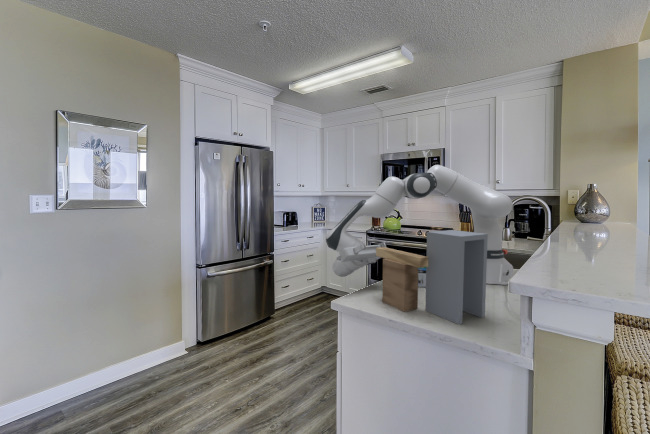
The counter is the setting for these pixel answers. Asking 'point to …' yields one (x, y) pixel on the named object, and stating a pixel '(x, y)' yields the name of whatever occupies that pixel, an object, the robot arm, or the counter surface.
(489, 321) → the counter surface
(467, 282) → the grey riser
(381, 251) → the oak slat
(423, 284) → the light bulb box
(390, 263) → the walnut block
